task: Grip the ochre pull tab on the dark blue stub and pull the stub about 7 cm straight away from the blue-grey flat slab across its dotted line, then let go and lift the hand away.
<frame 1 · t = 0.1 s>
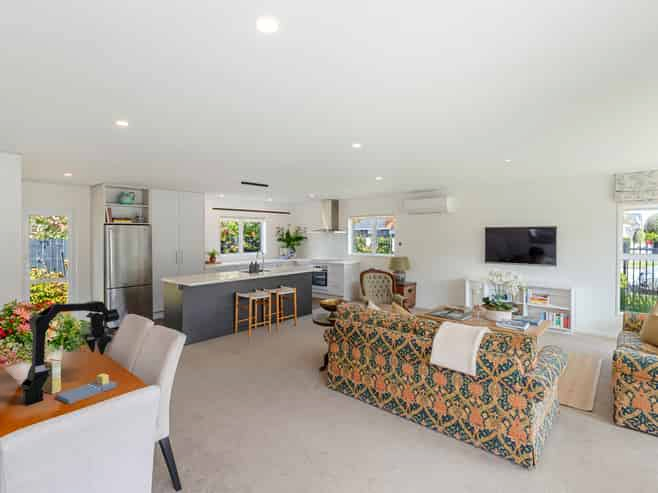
hand: (97, 353, 186), 15 cm above the table, tool pointing down, fingers open, 9 cm apart
blue-grey flat slab: (79, 395, 168), on the table
stub: (102, 381, 177), point 3 cm above the table, slide at 0.0 cm
candy box: (51, 391, 173), on the table
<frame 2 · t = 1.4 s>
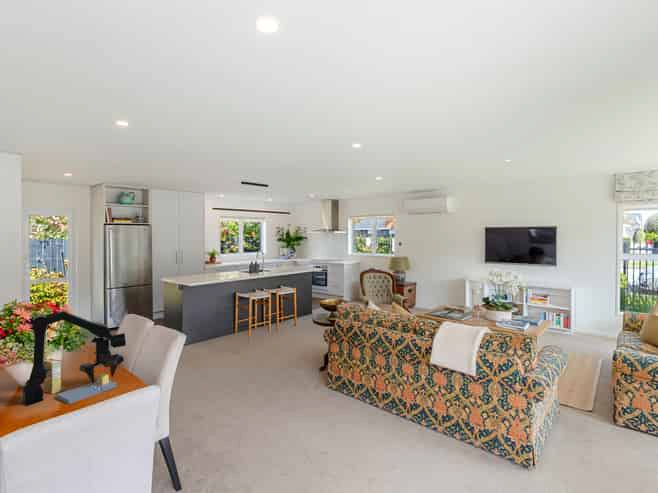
hand: (102, 379, 177), 4 cm above the table, tool pointing down, fingers open, 9 cm apart
nothing on the table moved.
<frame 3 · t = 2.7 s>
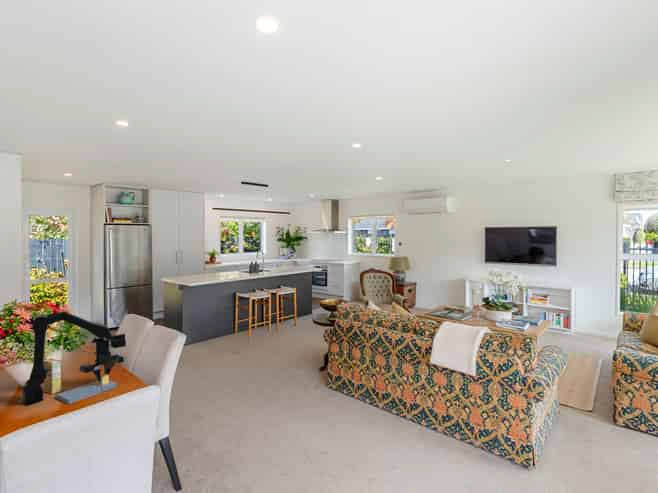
hand: (102, 380, 177), 4 cm above the table, tool pointing down, fingers closed on stub, 3 cm apart
stub: (102, 381, 177), point 3 cm above the table, slide at 0.0 cm, touching gripper
everything else where it was.
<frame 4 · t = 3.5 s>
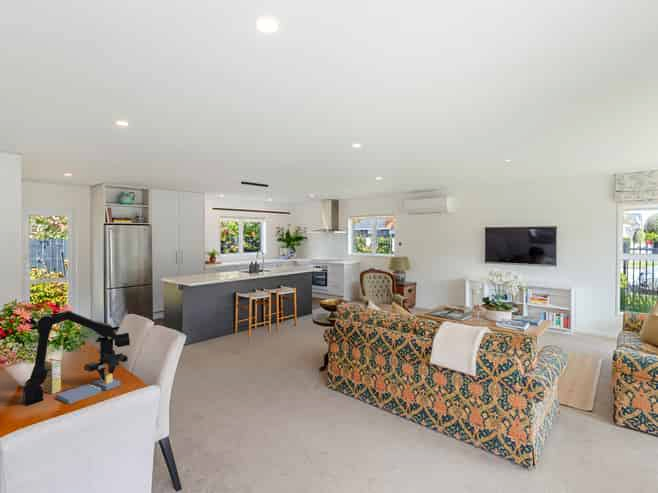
hand: (106, 379, 179), 4 cm above the table, tool pointing down, fingers closed on stub, 3 cm apart
stub: (106, 379, 179), point 3 cm above the table, slide at 1.9 cm, touching gripper
everything else where it was.
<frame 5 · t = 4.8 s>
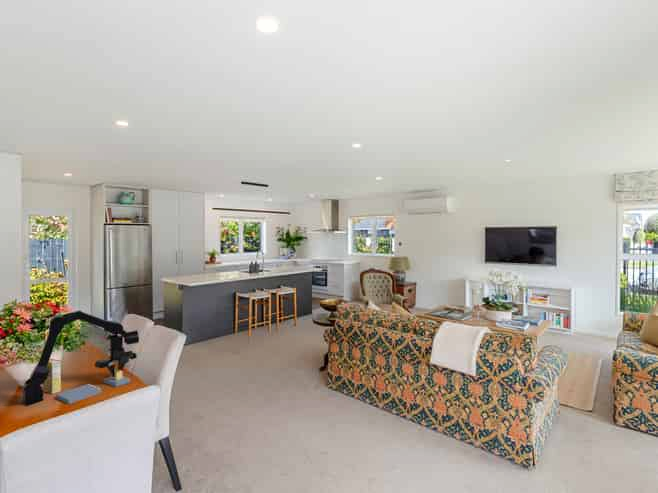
hand: (116, 375, 183), 4 cm above the table, tool pointing down, fingers closed on stub, 3 cm apart
stub: (116, 376, 183), point 3 cm above the table, slide at 6.9 cm, touching gripper
everything else where it was.
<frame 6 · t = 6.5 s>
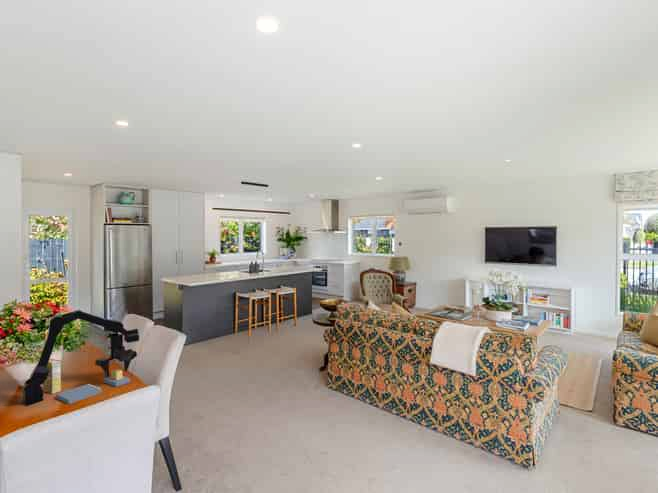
hand: (117, 374, 183), 4 cm above the table, tool pointing down, fingers open, 9 cm apart
stub: (116, 376, 183), point 3 cm above the table, slide at 6.9 cm
everything else where it was.
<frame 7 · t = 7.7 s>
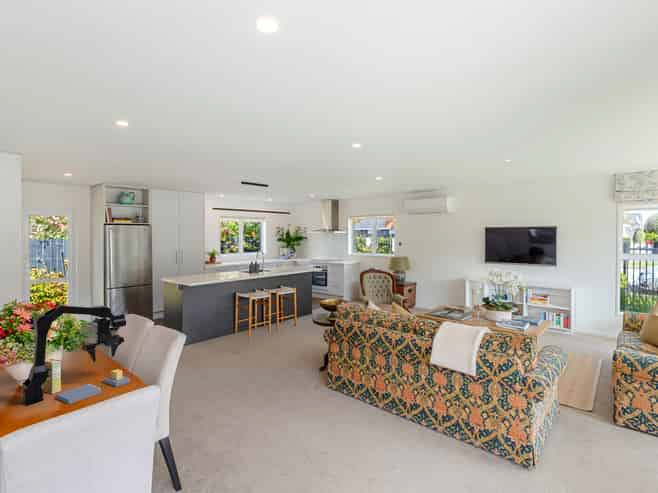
hand: (103, 359, 184), 12 cm above the table, tool pointing down, fingers open, 9 cm apart
nothing on the table moved.
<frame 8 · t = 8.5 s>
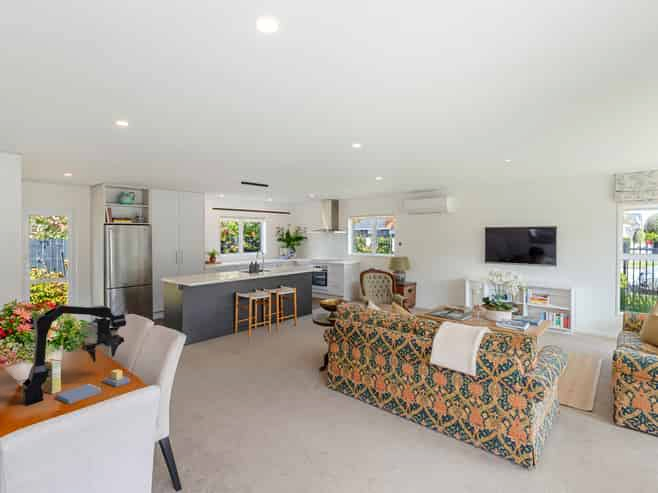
hand: (103, 359, 184), 12 cm above the table, tool pointing down, fingers open, 9 cm apart
nothing on the table moved.
at the end: stub slide at 6.9 cm; the gripper is holding nothing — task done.
